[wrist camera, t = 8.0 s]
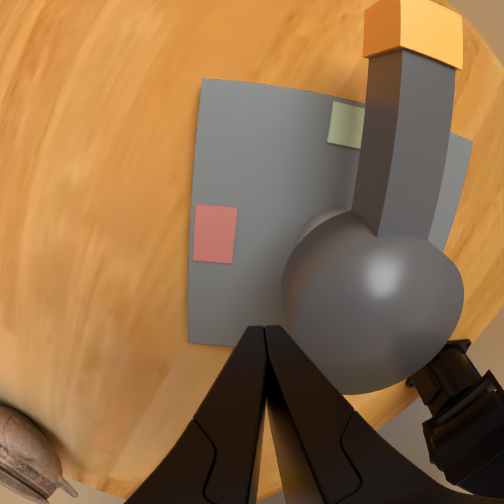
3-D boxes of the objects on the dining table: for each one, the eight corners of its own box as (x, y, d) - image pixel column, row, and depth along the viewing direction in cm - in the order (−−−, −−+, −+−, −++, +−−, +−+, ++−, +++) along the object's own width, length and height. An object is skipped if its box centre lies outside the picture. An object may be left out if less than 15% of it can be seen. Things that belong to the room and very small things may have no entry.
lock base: (460, 138, 17) (513, 154, 12) (394, 337, 25) (419, 382, 20) (205, 80, 16) (190, 68, 11) (190, 329, 24) (180, 384, 18)
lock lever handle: (397, 335, 17) (424, 384, 14) (272, 340, 17) (280, 399, 13) (459, 46, 10) (516, 41, 6) (306, -3, 9) (333, -42, 5)
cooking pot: (-27, 403, 33) (-50, 449, 22) (-45, 347, 26) (-82, 404, 15) (83, 467, 39) (70, 519, 28) (96, 435, 32) (76, 508, 21)
